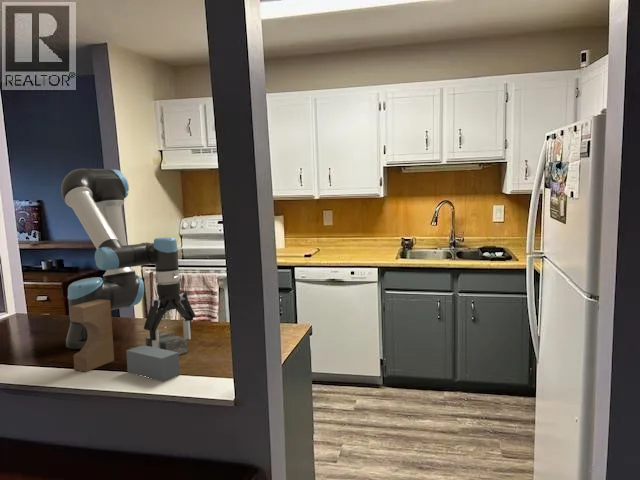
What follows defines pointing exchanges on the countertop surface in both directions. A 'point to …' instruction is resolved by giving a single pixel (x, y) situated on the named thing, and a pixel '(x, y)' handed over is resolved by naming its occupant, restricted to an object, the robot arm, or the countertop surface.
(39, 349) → the countertop surface
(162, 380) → the block
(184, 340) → the stone block
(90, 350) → the decorative block
